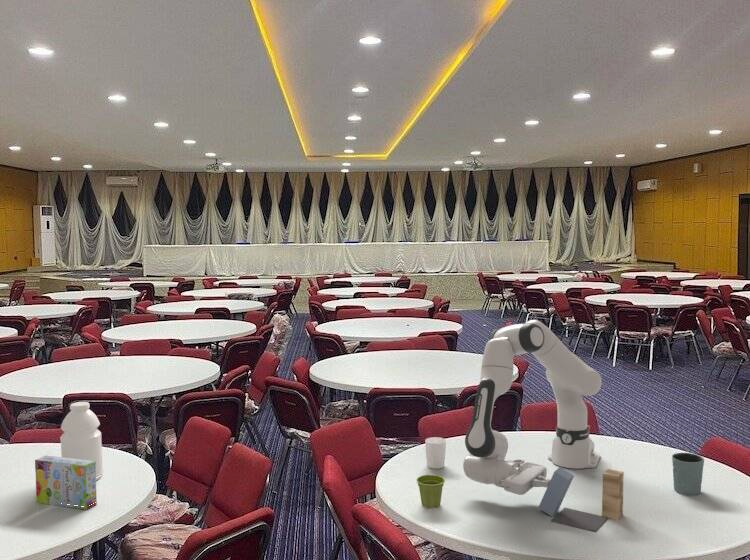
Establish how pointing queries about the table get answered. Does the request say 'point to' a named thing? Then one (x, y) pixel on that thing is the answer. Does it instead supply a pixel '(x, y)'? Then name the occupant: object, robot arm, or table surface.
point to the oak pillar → (612, 494)
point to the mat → (579, 519)
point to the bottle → (82, 436)
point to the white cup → (435, 452)
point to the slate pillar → (556, 491)
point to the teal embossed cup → (687, 473)
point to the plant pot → (430, 490)
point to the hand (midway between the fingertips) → (549, 483)
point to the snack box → (66, 482)
